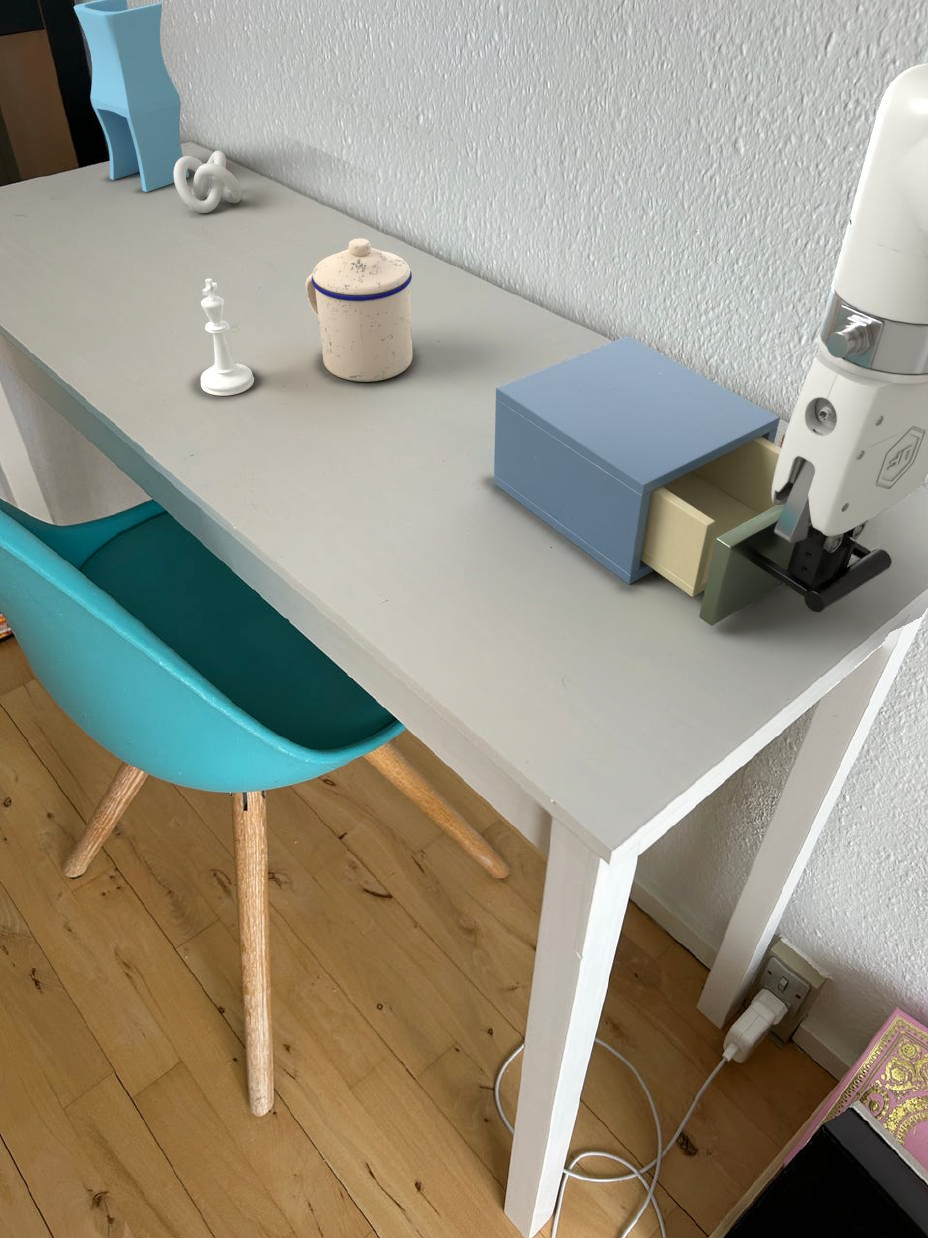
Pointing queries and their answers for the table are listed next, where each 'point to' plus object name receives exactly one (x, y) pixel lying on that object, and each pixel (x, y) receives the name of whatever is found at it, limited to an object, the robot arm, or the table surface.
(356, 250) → the teacup with lid
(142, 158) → the vase
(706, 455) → the drawer cabinet
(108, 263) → the table surface
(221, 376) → the chess piece
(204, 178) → the knot
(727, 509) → the drawer
